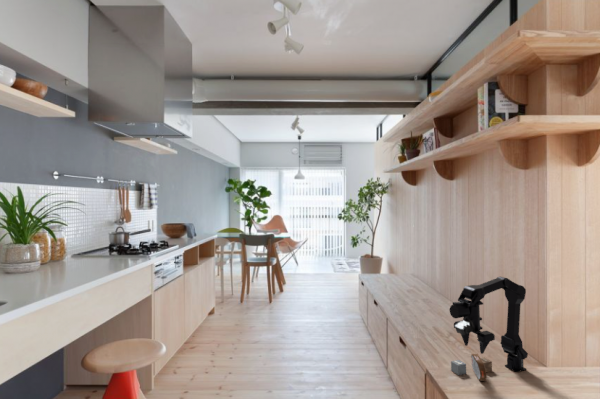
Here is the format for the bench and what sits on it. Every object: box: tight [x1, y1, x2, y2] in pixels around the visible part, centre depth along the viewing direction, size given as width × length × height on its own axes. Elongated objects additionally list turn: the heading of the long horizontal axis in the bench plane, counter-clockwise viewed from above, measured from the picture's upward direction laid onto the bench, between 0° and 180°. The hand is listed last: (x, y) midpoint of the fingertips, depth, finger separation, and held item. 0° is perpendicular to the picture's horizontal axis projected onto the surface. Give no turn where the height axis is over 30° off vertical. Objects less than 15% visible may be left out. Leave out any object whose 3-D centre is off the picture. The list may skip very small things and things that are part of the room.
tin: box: [470, 353, 487, 382], centre depth 163 cm, size 15×3×8 cm, turn 168°
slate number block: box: [450, 359, 467, 376], centre depth 167 cm, size 4×4×5 cm
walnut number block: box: [480, 357, 493, 373], centre depth 169 cm, size 4×4×5 cm
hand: (473, 349), depth 163 cm, fingers open, 9 cm apart
